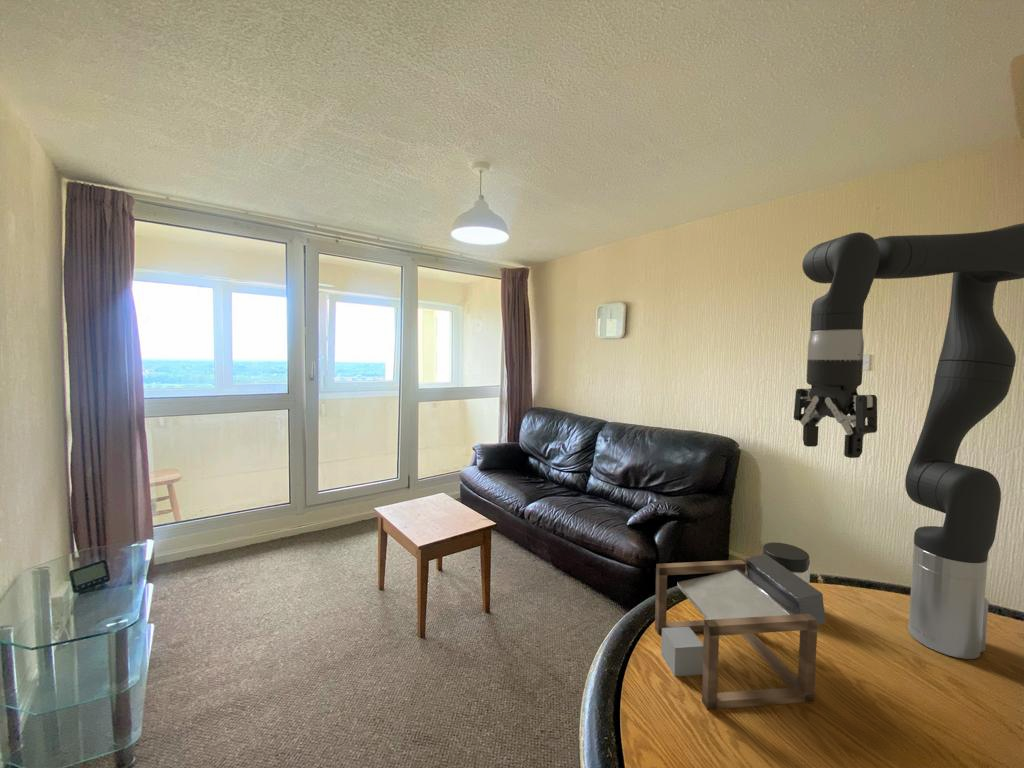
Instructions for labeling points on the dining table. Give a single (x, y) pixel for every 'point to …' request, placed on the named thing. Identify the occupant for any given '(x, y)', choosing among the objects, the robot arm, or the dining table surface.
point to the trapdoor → (754, 592)
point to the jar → (790, 558)
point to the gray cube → (682, 651)
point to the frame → (804, 623)
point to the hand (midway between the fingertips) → (829, 451)
